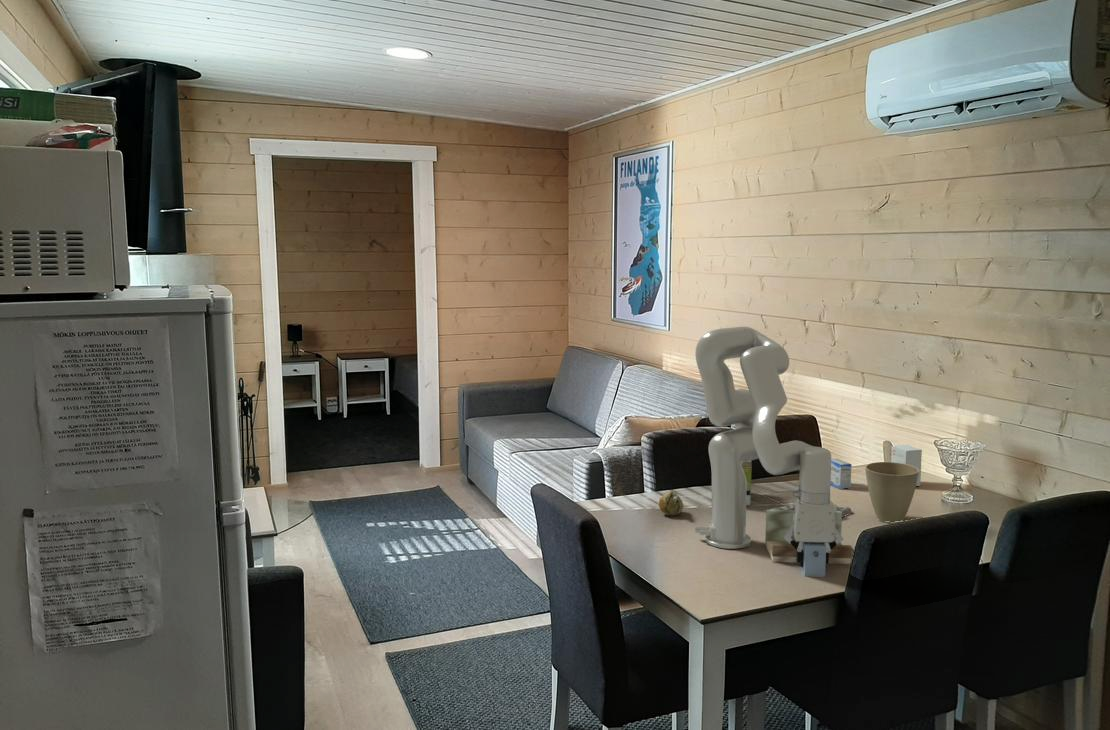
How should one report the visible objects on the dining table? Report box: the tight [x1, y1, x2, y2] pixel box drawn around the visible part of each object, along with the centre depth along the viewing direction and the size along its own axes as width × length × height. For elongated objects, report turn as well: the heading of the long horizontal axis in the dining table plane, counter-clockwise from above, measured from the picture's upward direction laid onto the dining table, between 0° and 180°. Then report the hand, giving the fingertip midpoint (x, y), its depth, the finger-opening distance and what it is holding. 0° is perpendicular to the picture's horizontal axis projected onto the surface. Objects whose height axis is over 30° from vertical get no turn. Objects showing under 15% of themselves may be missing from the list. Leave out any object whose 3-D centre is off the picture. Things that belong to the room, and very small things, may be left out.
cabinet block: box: [798, 542, 827, 578], centre depth 209 cm, size 5×8×8 cm, turn 174°
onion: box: [658, 490, 684, 516], centre depth 255 cm, size 8×8×8 cm
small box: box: [890, 444, 923, 487], centre depth 283 cm, size 8×6×13 cm
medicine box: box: [830, 458, 853, 490], centre depth 283 cm, size 8×4×9 cm, turn 17°
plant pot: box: [864, 461, 919, 524], centre depth 247 cm, size 15×15×16 cm
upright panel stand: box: [764, 509, 853, 565], centre depth 221 cm, size 20×13×10 cm, turn 84°
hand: (812, 564), depth 210 cm, fingers closed on cabinet block, 5 cm apart
